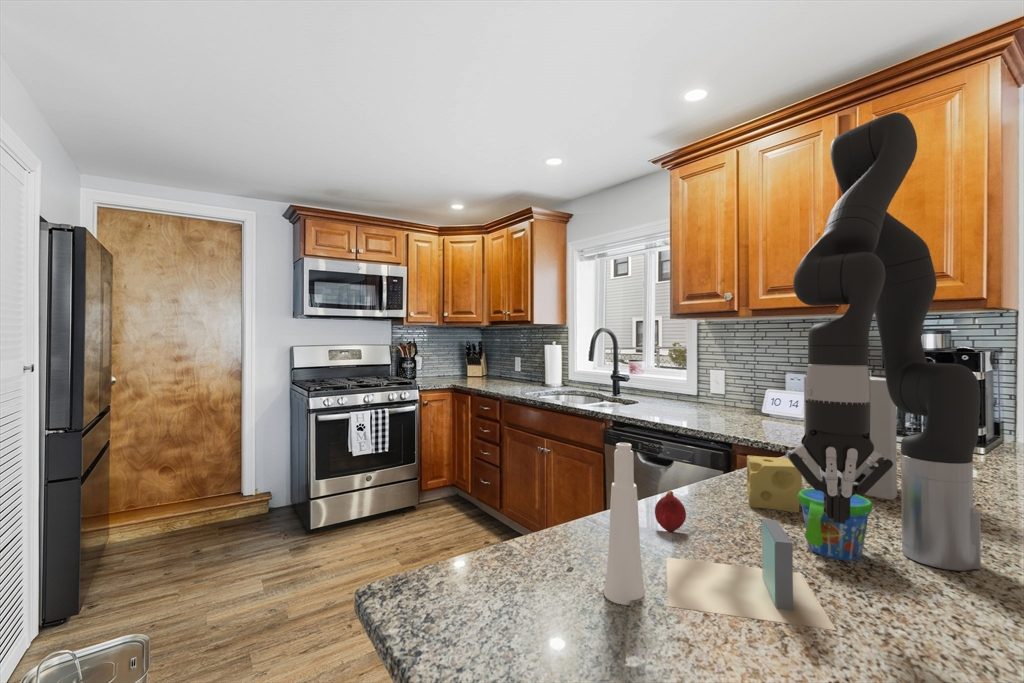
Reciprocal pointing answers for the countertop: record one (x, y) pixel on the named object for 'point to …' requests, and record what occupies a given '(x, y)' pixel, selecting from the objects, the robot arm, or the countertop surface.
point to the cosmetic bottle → (624, 533)
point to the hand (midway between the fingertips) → (836, 521)
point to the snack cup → (834, 526)
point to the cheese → (773, 483)
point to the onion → (670, 512)
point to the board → (739, 593)
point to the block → (777, 564)
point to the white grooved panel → (875, 438)
